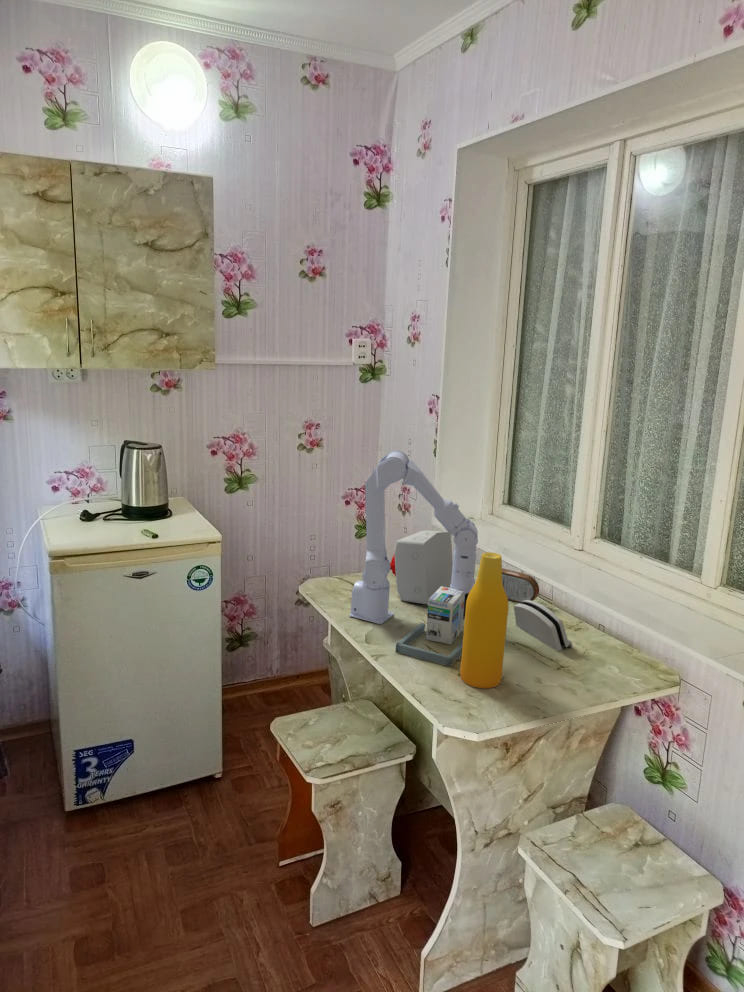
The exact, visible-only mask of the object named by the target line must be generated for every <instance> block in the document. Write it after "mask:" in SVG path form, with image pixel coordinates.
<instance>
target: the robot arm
mask: <svg viewBox="0 0 744 992" xmlns="http://www.w3.org/2000/svg"><path fill="white" fill-rule="evenodd" d="M378 462H379V463H378V464H377V466H376V467H375V468H374V469H373V471H372V472H371V474H370V475H369V477H368V479H367V480H366V481H365V485H364V489H365V490H364V492H365V496H364V497H365V524H366V526H365V527H366V533H365V534H366V553H365V555H366V556H365V567H364V570H363V571H362V574H361V579H362V580H356V581H355V583H354V584H353V587H352V590H351V602H350V604H351V605H350V613H349V614H348V615H349V617H352V618H355V619H360V620H361V621H362V620H364V621H366V622H372V623H373V624H378V625H382V624H383V623H384V622H386V621H387V620H389V619H390V618H391V617H393V615H395V613H394V612H393V611H389V605H390V604H389V602H390V587H391V583H390V581H389V580H388V574H389V573H390V572H391V570H390V568H391V565H390V563H391V562H390V560H389V559H388V555H387V554H388V551H387V548H386V515H385V514H386V512H385V490H386V489H387V488H388V487H389V486H390V485H392V484H394V483H397V482H399V481H401V480H402V482H401V484H402V485H407V486H408V485H409V486H412V487H413V488H414V489H415V490H417V492H418V493H420V495H421V496H423V498H424V499H425V500H426V501H427V502H428V503H429V504H430V506H431V507H433V516H434V518H436V520H437V521H438V522H439V523H440V524H441V526H442V527H443V528H444V529H445V530H446V532H449V534H451V536H453V542H454V550H453V552H452V560H453V566H452V578H451V584H450V591H452V590H451V588H452V589H456V591H454V593H455V592H457V591H458V590H460V591H461V590H462V591H464V592H458V594H460V593H464V594H465V600H464V614H463V621H465V611H466V601H467V597H468V595H469V593H470V591H471V589H472V587H473V586H474V584H475V582H476V578H475V573H476V571H475V570H476V560H477V553H476V551H477V544H478V541H479V539H478V535H479V533H478V532H479V531H478V529H477V527H476V525H475V523H474V522H472V521H471V519H470V518H466V516H465V515H464V514H463V512H462V511H461V510H460V509H459V507H460V505H459V504H458V503H457V502H455V503H454V502H453V501H452V500H449V499H444V498H443V497H442V496H441V494H440V493H439V492H438V490H437V489H436V487H434V485H433V484H432V483H431V482H430V481H429V479H428V478H427V476H426V474H424V473H423V471H422V470H421V469H420V467H418V465H417V463H415V462H414V461H413V460H412V459H411V458H410V459H409V456H408V455H407V454H406V453H405V452H403V451H401V450H392V451H390V452H389V453H388V454H386V455H385V456H384V457H382V458H381V460H380V461H378ZM449 593H450V592H449ZM454 593H452V594H450V595H453V594H454ZM456 595H457V594H456ZM456 595H455V596H456Z"/></svg>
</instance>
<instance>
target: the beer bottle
mask: <svg viewBox="0 0 744 992" xmlns="http://www.w3.org/2000/svg"><path fill="white" fill-rule="evenodd" d="M502 560H503V559H502V555H501V554H500V553H497V552H489V551H488V552H483V553H482V554H481V558H480V563H479V565H478V566H479V568H478V572H477V577H476V579H475V584H474V586H473V587H472V589H471V591H470V593H469V595H468V597H467V601H466V611H465V618H464V622H463V623H464V624H463V625H464V626H463V636H462V642H463V647H462V655H461V661H460V668H459V669H460V670H459V675H460V679H461V680H462V681H463V683H465V684H466V685H468V686H470V687H472V688H478V689H492V688H494V687H497V686H498V685H499V684H501V681H502V677H503V668H504V656H505V645H506V644H505V643H506V635H507V626H508V615H509V600H508V599H507V595H506V592H505V590H504V587H503V584H502V568H503V565H502V564H503V563H502Z"/></svg>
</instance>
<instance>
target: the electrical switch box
mask: <svg viewBox="0 0 744 992" xmlns="http://www.w3.org/2000/svg"><path fill="white" fill-rule="evenodd" d="M452 543H453V542H452V535H451V534H449V532H448V531H441V530H428V529H427V530H420V531H418V532H415V533H414V534H411V535H408V536H405V537H403V538H400V539H398V540H396V543H395V547H394V553H393V556H392V557H391V562H390V565H391V568H390V571H391V572H392V574H393V575H394V576H395V579H396V581H395V582H396V591H397V593H398V595H399V599H400V601H404V602H407V603H416V604H423V605H428V599H429V598H430V597H431V596H432V595H433V594H434V593H435V592H436V591H437V590H438V589H439V588H440V587H441V586H442V587H447V588H450V584H451V578H452V566H453V548H452V547H453V545H452Z"/></svg>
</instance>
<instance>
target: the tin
mask: <svg viewBox="0 0 744 992" xmlns="http://www.w3.org/2000/svg"><path fill="white" fill-rule="evenodd" d="M502 584H503V587H504V590H505V592H506V595H507V599H508V601H511V602H515V603H517V604H518V603H519V604H520V603H521V601H524V600H531V601H534V600H536V599H537V598H538V596H539V593H540V586H539V583H538V580H536V579H535V577H534V576H532V575H530V574H527V573H523V572H518V571H515V570H511V569H507V568H503V567H502Z"/></svg>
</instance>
